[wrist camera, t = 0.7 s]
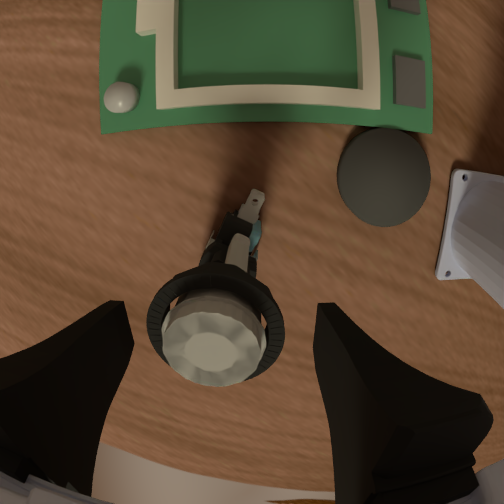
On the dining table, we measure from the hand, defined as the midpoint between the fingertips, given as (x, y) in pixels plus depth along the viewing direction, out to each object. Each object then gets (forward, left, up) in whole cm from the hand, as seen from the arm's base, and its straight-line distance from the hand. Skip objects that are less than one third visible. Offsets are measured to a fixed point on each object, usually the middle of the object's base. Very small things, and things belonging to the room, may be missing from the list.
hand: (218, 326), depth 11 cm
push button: (0, 0, -9) cm, 9 cm away
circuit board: (-2, -14, -9) cm, 17 cm away
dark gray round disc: (-9, -4, -10) cm, 14 cm away
